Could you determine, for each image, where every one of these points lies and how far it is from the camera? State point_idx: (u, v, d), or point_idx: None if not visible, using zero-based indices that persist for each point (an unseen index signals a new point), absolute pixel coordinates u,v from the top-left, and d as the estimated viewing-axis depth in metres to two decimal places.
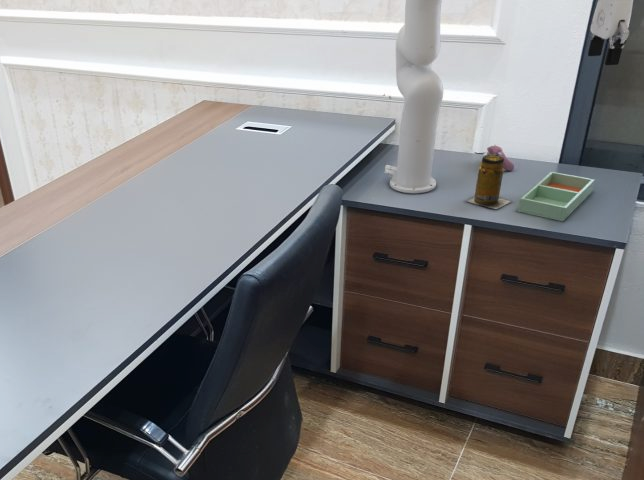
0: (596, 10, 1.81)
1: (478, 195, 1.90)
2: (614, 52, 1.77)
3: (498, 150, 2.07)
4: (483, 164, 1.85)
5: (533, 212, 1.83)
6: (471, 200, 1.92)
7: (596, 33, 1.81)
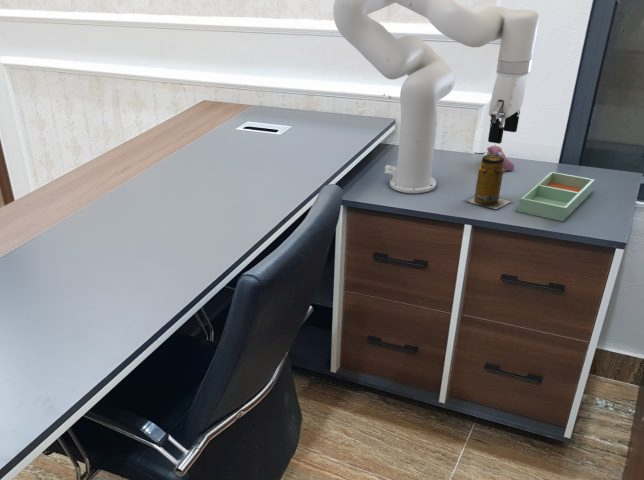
0: None
1: (478, 195, 1.90)
2: (493, 131, 1.76)
3: (498, 150, 2.07)
4: (483, 164, 1.85)
5: (533, 212, 1.83)
6: (471, 200, 1.92)
7: None
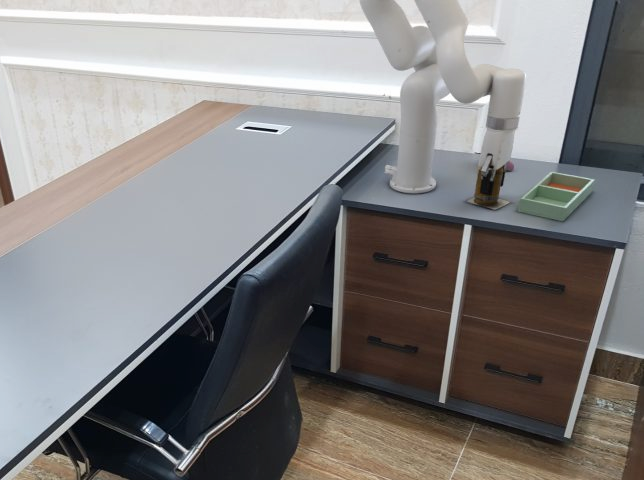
0: None
1: (478, 196, 1.89)
2: (484, 183, 1.85)
3: None
4: None
5: (533, 212, 1.83)
6: (471, 200, 1.92)
7: None
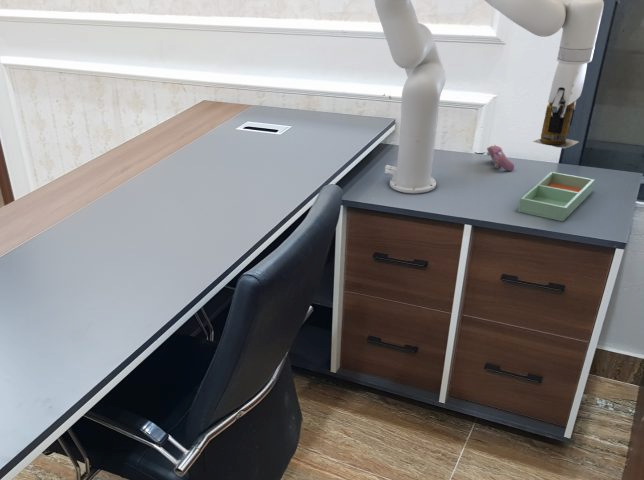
0: None
1: (545, 135, 1.81)
2: (553, 121, 1.77)
3: (498, 150, 2.07)
4: None
5: (533, 212, 1.83)
6: (537, 141, 1.84)
7: None
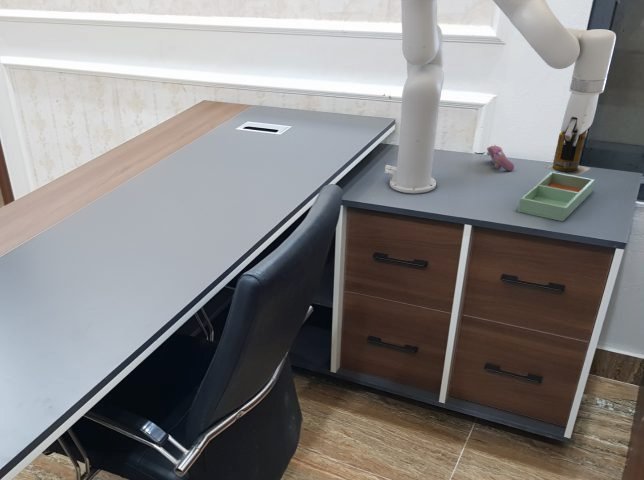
0: None
1: (558, 162, 1.86)
2: (566, 149, 1.81)
3: (498, 150, 2.07)
4: None
5: (533, 212, 1.83)
6: (549, 167, 1.88)
7: None
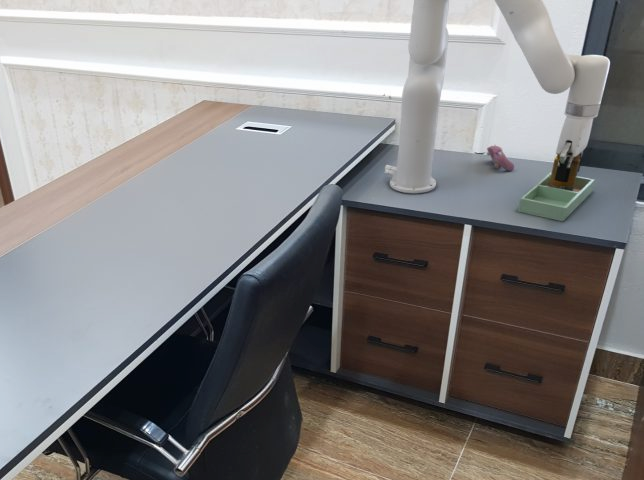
0: None
1: (554, 186, 1.89)
2: (560, 170, 1.84)
3: (498, 150, 2.07)
4: None
5: (533, 212, 1.83)
6: None
7: None
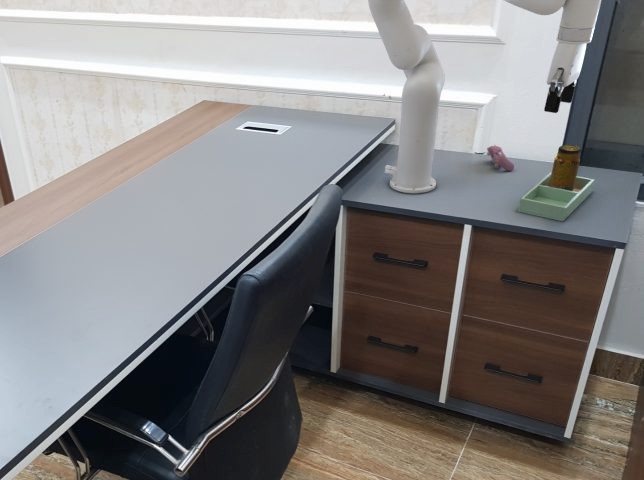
0: None
1: (554, 186, 1.89)
2: (550, 100, 1.74)
3: (498, 150, 2.07)
4: (560, 154, 1.85)
5: (533, 212, 1.83)
6: None
7: None
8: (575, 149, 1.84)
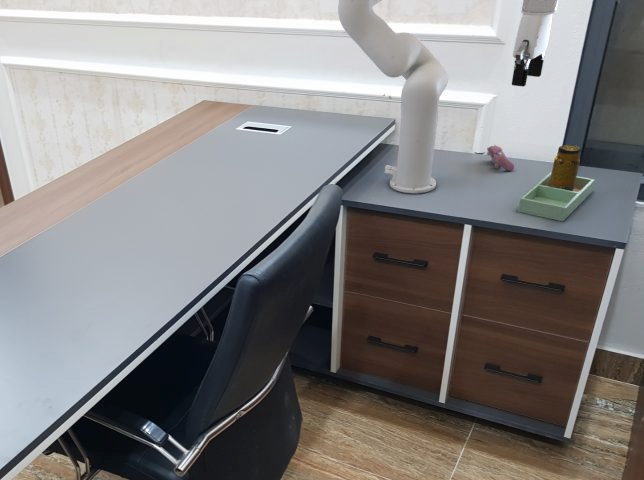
0: None
1: (554, 186, 1.89)
2: (517, 73, 1.72)
3: (498, 150, 2.07)
4: (560, 154, 1.85)
5: (533, 212, 1.83)
6: None
7: None
8: (575, 149, 1.84)
